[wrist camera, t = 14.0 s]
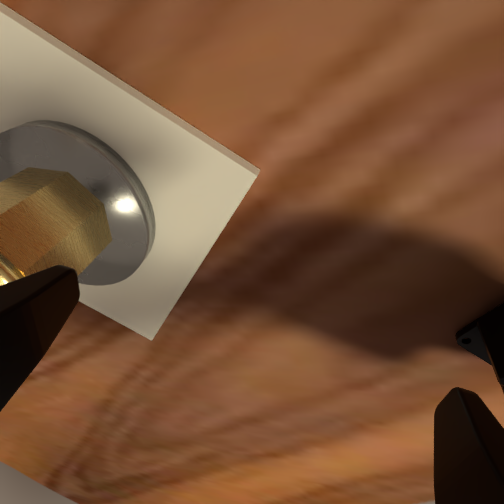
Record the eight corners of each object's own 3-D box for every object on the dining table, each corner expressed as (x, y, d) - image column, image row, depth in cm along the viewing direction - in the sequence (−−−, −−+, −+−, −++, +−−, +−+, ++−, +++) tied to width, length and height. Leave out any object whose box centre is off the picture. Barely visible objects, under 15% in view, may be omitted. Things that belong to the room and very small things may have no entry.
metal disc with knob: (181, 188, 19) (122, 256, 14) (127, 297, 25) (72, 371, 20) (3, 79, 18) (-128, 112, 13) (-10, 221, 24) (-104, 280, 19)
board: (260, 169, 19) (257, 176, 18) (156, 332, 28) (151, 340, 27) (-83, -51, 16) (-100, -53, 16) (-71, 208, 26) (-82, 213, 25)
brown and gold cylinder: (-1, 161, 20) (-137, 226, 14) (98, 173, 19) (-7, 248, 13) (34, 250, 23) (-65, 331, 17) (119, 264, 22) (43, 354, 17)
